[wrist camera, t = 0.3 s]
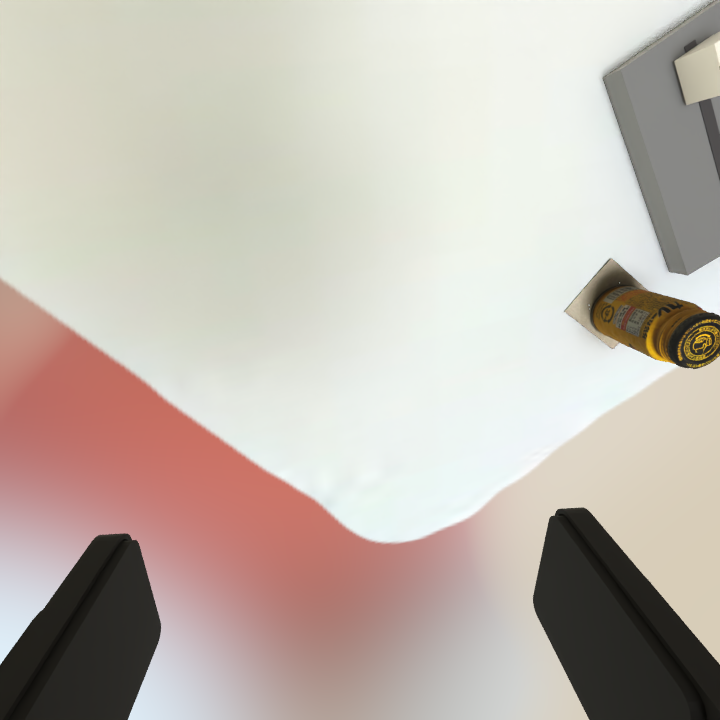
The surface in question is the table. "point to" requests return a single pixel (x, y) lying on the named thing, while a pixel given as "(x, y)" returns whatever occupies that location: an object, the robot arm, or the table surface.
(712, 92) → the fader knob
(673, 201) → the fader console
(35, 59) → the table surface
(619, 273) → the condiment
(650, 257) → the table surface
